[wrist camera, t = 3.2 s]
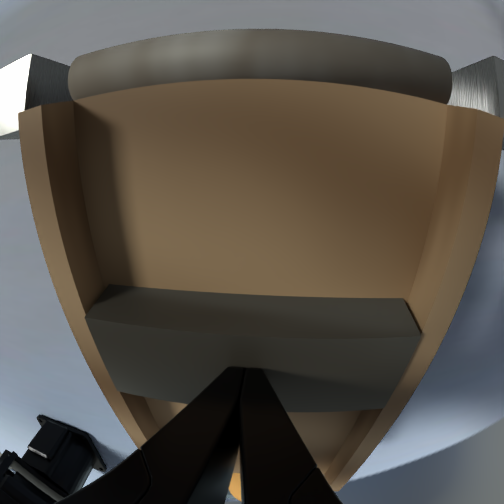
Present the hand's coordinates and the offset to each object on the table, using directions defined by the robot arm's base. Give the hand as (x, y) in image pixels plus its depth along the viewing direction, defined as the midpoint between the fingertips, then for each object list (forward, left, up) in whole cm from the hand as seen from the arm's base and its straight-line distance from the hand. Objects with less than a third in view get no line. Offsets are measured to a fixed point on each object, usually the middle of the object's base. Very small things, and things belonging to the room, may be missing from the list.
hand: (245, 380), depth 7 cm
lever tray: (-1, 0, -3) cm, 3 cm away
